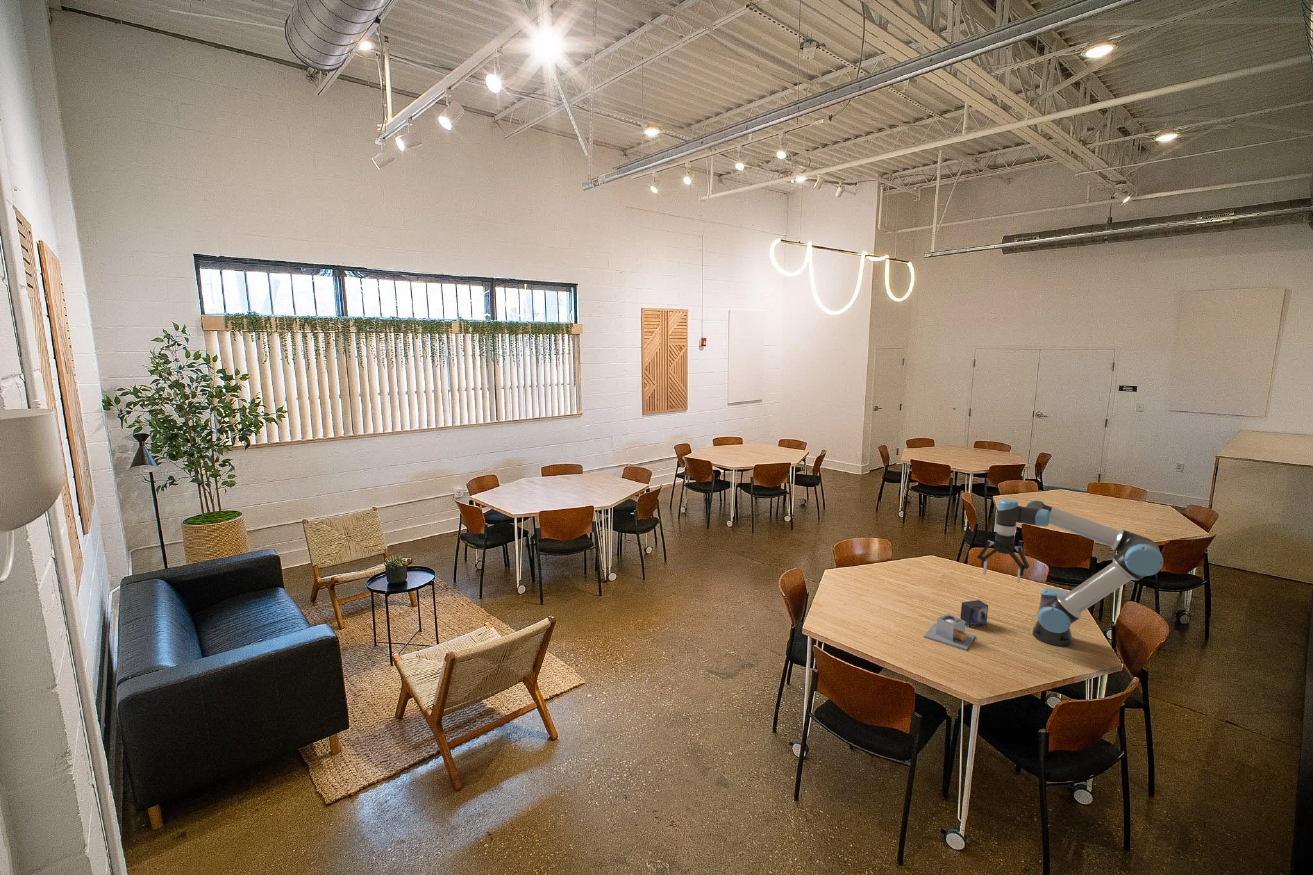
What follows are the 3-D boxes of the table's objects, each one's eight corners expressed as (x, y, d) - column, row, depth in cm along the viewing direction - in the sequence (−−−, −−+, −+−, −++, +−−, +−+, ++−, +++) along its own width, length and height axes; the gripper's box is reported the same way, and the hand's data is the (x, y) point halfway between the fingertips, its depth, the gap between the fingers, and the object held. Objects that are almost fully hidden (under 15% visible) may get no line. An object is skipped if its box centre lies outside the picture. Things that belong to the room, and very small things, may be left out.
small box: (969, 628, 275) (971, 607, 273) (959, 622, 281) (960, 601, 279) (987, 625, 278) (989, 604, 276) (976, 619, 284) (978, 599, 282)
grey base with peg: (975, 637, 266) (976, 621, 265) (966, 650, 254) (967, 634, 253) (934, 624, 278) (935, 609, 277) (923, 637, 266) (924, 621, 265)
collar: (947, 629, 272) (948, 613, 270) (970, 640, 262) (971, 623, 261) (935, 633, 268) (937, 617, 266) (958, 644, 258) (960, 628, 257)
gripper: (1039, 537, 254) (1034, 582, 257) (976, 526, 270) (972, 568, 273) (1036, 541, 248) (1031, 587, 252) (972, 529, 265) (969, 573, 268)
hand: (1001, 577), depth 262 cm, fingers open, 13 cm apart
